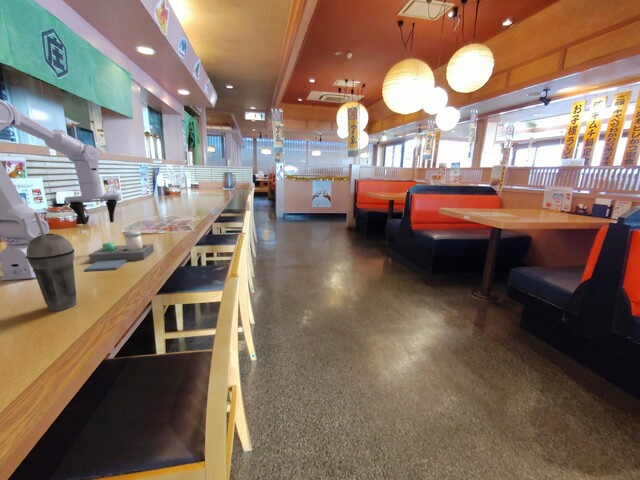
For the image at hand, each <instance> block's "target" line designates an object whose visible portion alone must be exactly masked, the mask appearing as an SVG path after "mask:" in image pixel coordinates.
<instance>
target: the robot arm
mask: <svg viewBox="0 0 640 480" xmlns="http://www.w3.org/2000/svg"><path fill="white" fill-rule="evenodd" d="M7 127H12V128H15V129H17V130H19V131H21V132H24V133H26V134H28V135H31V136H33V137H35V138H38V139H40V140H42V141H44V144H45V145H46V147H48V148H49V149H52V150H53V151H56V152H57V153H60V154H63V155H64V156H66V157H67V158H68V160H69V161H70V162H73V163H74V164H73V165H74V169H75V171H76V173H75V174H76V177H77V181H78V185H79V186H78V187H79V190H80V194H81V195H78V196H66V197H64V201H65V204H69V207H70V209H72V211H73V212H74V213H75V214H76V216H78V218H79V219H80V222H81V224H82V225H83V226H84V225H85V226H86V224H88V221H87V217H86V214H85V209H84V203H95V202H97V203H98V202H105V205H106V208H107V211H108V216H109V221H110V223H114V221H115V218H114V217H115V210H116V207H117V204H118V202H119V201H120V200H121V198H120V194H117V193H116V194H104V193H103V187H102V183H101V178H100V173H99V167H100V165H99V160H100V156H101V154H100V153H99V151H98V149H96V148H95V146H93V145H92V144H88V143H85V144H84V143H83V142H82V140H80V139H78V138H74V137H72V136H70V135H69V134H68V133H67V132H66V131H65V130H63V129H52V130H51V129H49V128H48V127H46V126H44V125H43V124H41V123H39V122H37V121H36V120H34V119H33V118H31V117H29V116H27V115H26V114H24V113H22V112H21V111H20V110H18V109H17V108H16V107H15V106H14V105H13V104H11V103H7V102H5V101H4V100H2V99H0V131H2V130H4V129H5V128H7ZM34 213H38V211H36V210H35V209H34V208H32V207H30V206H29V205H27V204H25V202H24V200H23V198H22V197H21V194H20V193H19V191H18V189H17V187H16V185H15V184H14V183H13V180H12V178H11V177H10V176H9V173H8V172H7V169H5V166H4V165H3V163H2V161H1V160H0V238H2V239H3V241H4V242H5V244H6V247H5V248H4V249H2V250H0V265H1V271H2V273H3V277H1V278H0V281H9V280H10V281H12V280H13V281H14V280H28V279H37V278H36V276H35V273H34V270H33V268H32V267H31V265H30V263H29V261H28V259H27V258H26V256H27V247H28V245H29V243H30V242H31V241H32V240H33V239H34V238H36V237H37V236H39V235H42V234H41V232H40V229H39V226H38V223H37V220H36V218H35V215H34ZM39 218H40V221H41V224H42V227H43V229H44V232H45V234H50V233H49V232H50V226H49V223H48V222H47V220H45V219H43V218H42V217H41V216H40V215H39Z"/></svg>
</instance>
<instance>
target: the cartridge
mask: <svg viewBox="0 0 640 480" xmlns="http://www.w3.org/2000/svg"><path fill="white" fill-rule="evenodd" d="M123 234H124V235H123V236H124V240H125V245H126V246H127V251H137V250H142V249H143V246H142V245H143V240H142V231H140V230H130V231H125V232H124V233H123Z"/></svg>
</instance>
